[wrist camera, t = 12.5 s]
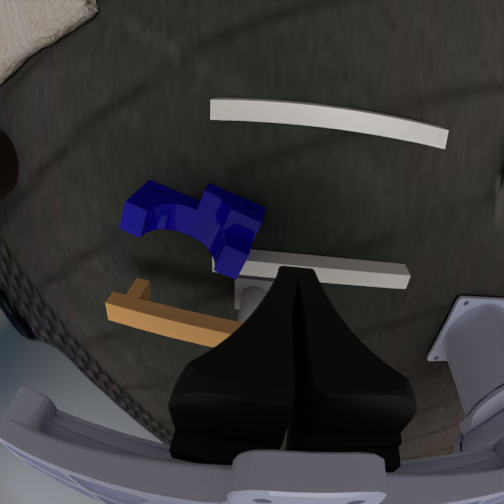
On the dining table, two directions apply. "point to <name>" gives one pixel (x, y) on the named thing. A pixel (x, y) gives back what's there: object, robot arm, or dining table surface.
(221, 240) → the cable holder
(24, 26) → the washcloth
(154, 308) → the tan lever handle
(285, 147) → the dining table surface
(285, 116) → the rails
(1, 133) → the coffee mug
